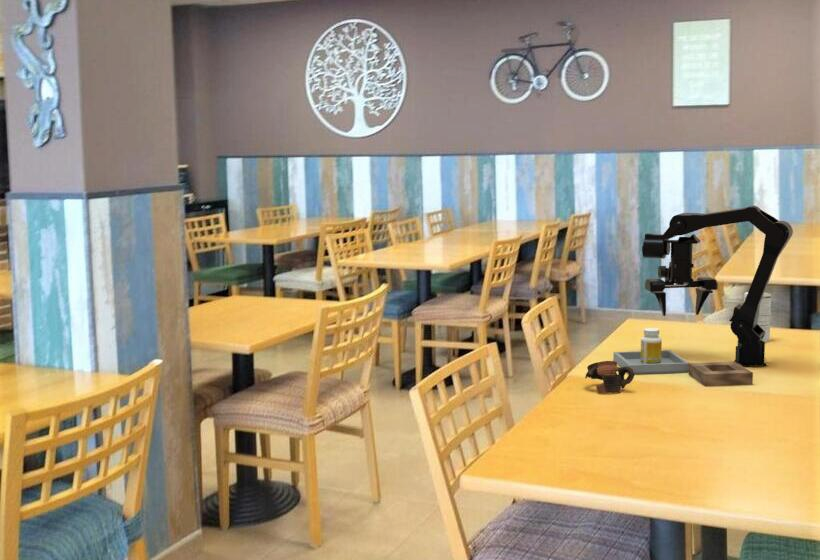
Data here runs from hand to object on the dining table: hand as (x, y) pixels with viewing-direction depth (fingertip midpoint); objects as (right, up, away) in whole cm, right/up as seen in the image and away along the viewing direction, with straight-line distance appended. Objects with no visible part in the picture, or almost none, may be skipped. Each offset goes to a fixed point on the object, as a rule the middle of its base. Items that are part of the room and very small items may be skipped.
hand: (680, 315), depth 270 cm
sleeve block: (+4, -15, -23) cm, 28 cm away
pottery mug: (-26, -18, -30) cm, 43 cm away
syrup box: (+28, -9, +21) cm, 36 cm away
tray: (-10, -14, -8) cm, 19 cm away
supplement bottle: (-10, -13, -8) cm, 18 cm away
